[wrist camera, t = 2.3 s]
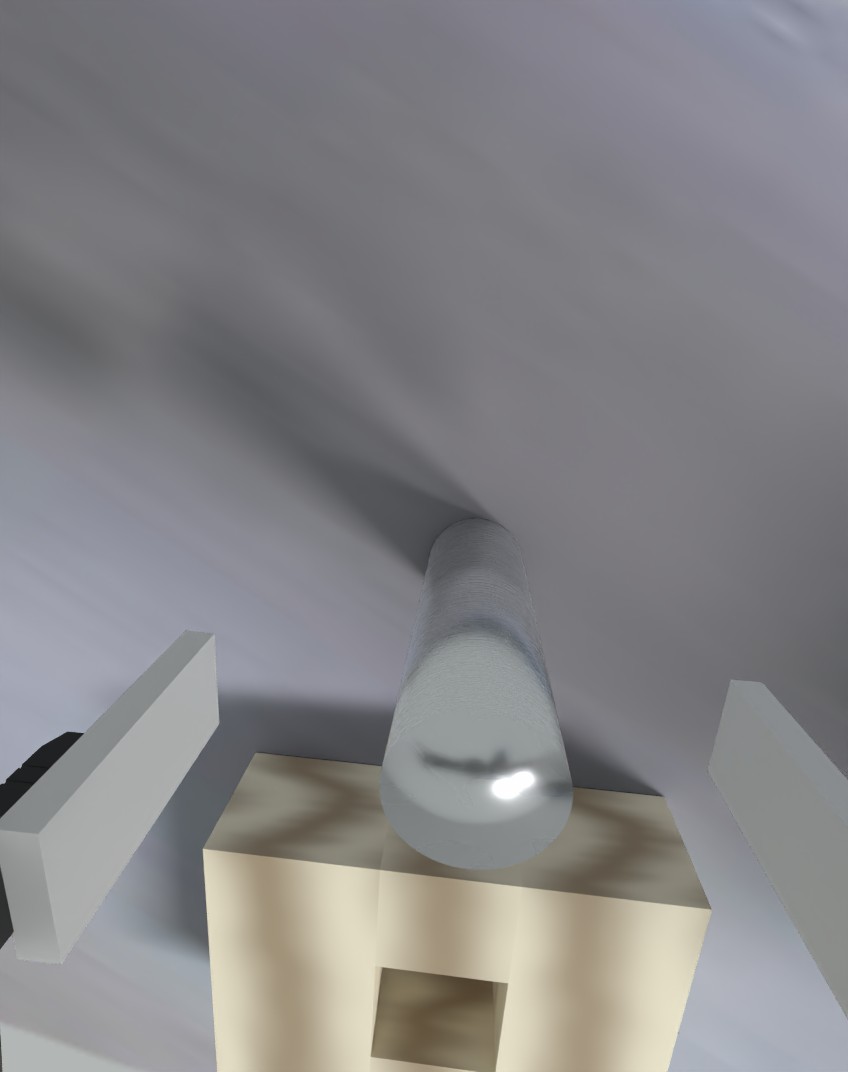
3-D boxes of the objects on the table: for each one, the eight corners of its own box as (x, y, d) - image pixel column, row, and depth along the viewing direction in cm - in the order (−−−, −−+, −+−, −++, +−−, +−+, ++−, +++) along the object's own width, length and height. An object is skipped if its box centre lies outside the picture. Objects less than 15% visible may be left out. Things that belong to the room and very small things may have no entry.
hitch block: (664, 797, 28) (711, 909, 23) (611, 1030, 33) (639, 1171, 27) (255, 752, 30) (202, 848, 24) (262, 983, 34) (219, 1109, 29)
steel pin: (527, 522, 25) (586, 721, 12) (516, 609, 26) (559, 880, 13) (432, 514, 25) (383, 699, 12) (426, 601, 26) (376, 858, 13)
